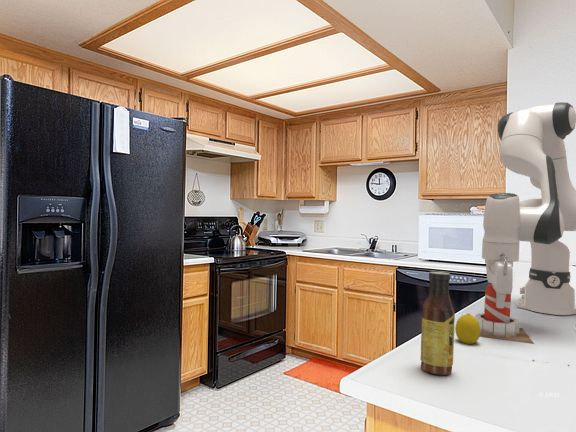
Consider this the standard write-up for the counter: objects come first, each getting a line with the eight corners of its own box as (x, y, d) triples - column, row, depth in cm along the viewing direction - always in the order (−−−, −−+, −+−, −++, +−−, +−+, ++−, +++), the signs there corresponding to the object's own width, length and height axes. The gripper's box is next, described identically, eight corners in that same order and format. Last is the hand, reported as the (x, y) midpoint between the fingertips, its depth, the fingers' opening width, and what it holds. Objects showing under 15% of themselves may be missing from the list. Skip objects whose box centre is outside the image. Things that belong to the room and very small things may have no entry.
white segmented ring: (473, 323, 116) (474, 311, 116) (514, 329, 112) (515, 316, 112) (476, 333, 106) (477, 320, 106) (521, 339, 103) (522, 325, 103)
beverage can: (513, 333, 106) (515, 287, 106) (486, 331, 107) (489, 285, 107) (505, 326, 112) (507, 283, 112) (480, 324, 113) (482, 281, 113)
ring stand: (464, 324, 119) (464, 320, 119) (522, 331, 114) (522, 328, 114) (467, 338, 105) (467, 334, 105) (534, 347, 100) (534, 343, 100)
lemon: (469, 351, 95) (470, 317, 95) (449, 343, 100) (451, 311, 100) (484, 348, 98) (486, 315, 98) (465, 341, 103) (466, 309, 103)
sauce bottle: (455, 378, 79) (460, 276, 79) (421, 374, 80) (426, 274, 80) (449, 366, 85) (453, 271, 85) (418, 362, 87) (422, 269, 86)
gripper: (520, 258, 98) (518, 315, 98) (507, 250, 117) (505, 298, 118) (491, 256, 100) (489, 311, 101) (483, 249, 120) (481, 296, 120)
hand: (497, 304), depth 109 cm, fingers closed on beverage can, 6 cm apart
